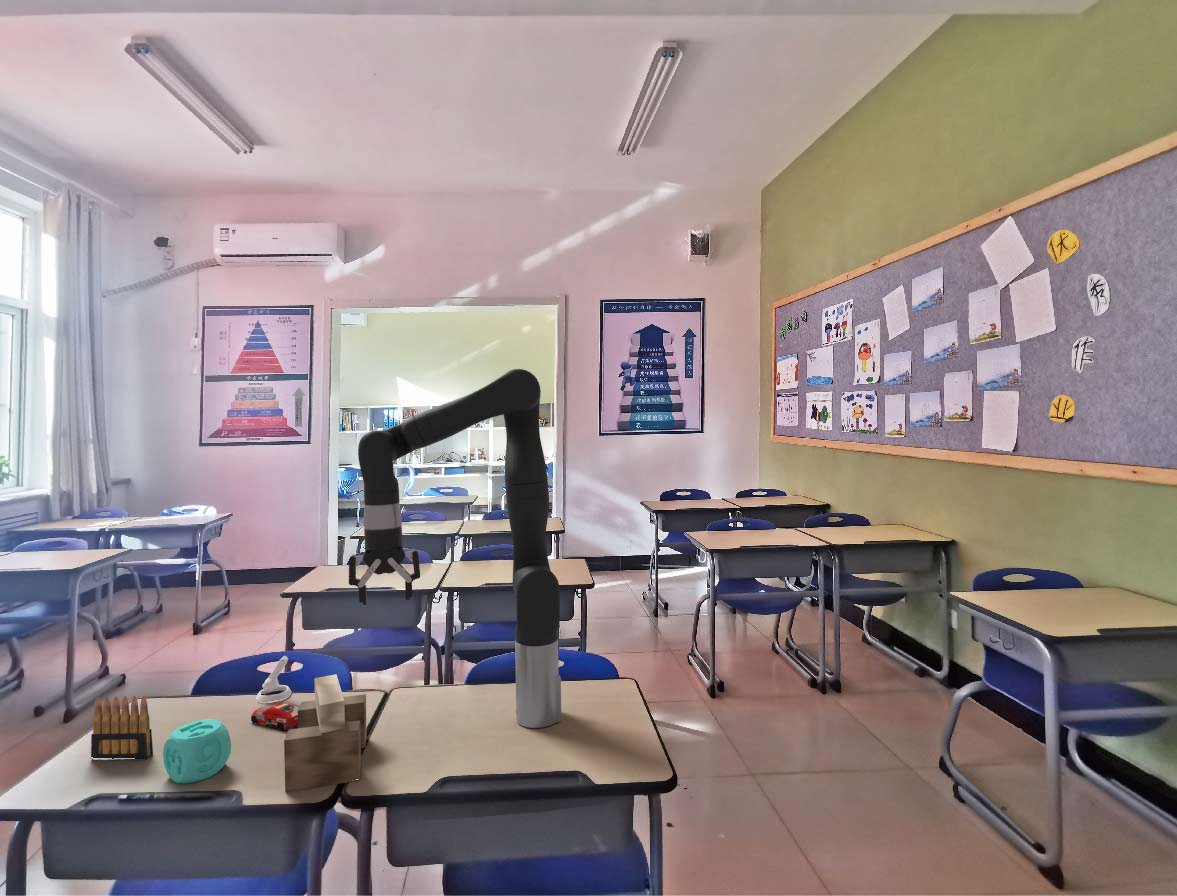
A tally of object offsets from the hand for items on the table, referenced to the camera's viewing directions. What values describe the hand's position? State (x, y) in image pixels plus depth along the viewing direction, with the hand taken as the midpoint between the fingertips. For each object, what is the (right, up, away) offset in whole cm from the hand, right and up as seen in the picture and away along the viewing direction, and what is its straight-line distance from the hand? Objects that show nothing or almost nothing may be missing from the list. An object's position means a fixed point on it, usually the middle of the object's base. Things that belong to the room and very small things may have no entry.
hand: (386, 601), depth 128 cm
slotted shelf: (-6, -27, -14) cm, 31 cm away
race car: (-24, -27, +3) cm, 37 cm away
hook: (-32, -27, +16) cm, 45 cm away
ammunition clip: (-47, -28, -11) cm, 56 cm away
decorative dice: (-29, -28, -16) cm, 43 cm away
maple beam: (-6, -18, -14) cm, 23 cm away
